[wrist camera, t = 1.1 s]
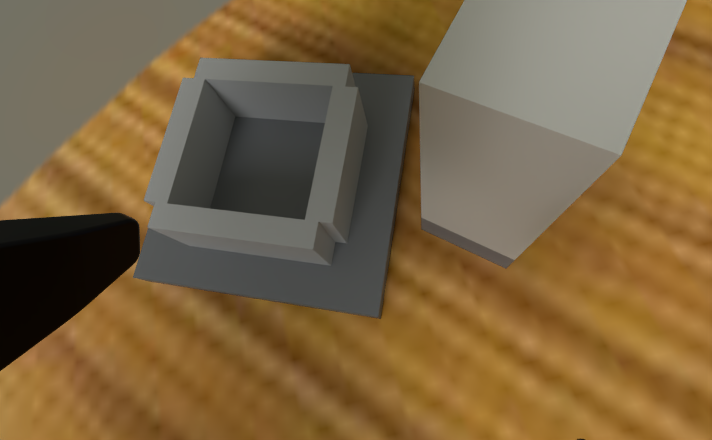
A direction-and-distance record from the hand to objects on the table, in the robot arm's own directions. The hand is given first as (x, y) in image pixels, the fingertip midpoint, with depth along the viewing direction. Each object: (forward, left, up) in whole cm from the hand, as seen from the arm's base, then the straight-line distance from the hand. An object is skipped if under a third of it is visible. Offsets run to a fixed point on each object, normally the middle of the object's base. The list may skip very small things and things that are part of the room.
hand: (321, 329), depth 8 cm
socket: (+9, +4, -13) cm, 17 cm away
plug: (+5, -6, -13) cm, 15 cm away
